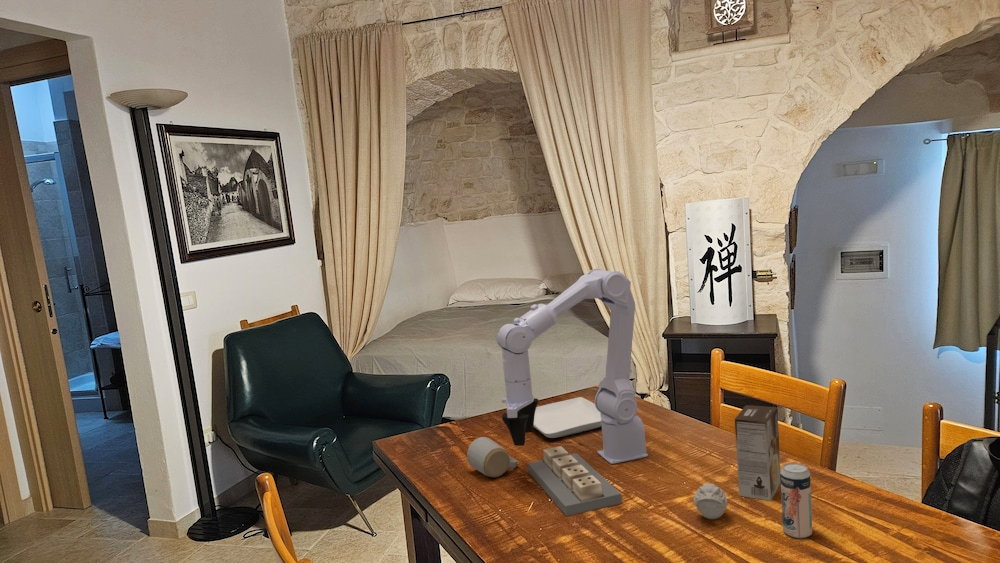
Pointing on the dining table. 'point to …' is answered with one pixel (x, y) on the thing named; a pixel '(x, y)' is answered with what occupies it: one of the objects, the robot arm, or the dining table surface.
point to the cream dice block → (563, 464)
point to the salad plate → (567, 417)
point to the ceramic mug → (489, 457)
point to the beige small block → (573, 475)
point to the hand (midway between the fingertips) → (523, 438)
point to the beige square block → (587, 488)
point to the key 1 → (553, 455)
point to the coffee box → (758, 452)
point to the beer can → (796, 500)
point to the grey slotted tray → (565, 496)
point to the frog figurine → (710, 501)
